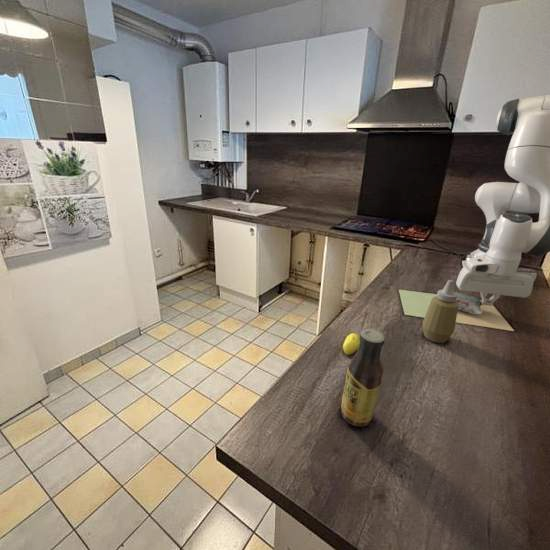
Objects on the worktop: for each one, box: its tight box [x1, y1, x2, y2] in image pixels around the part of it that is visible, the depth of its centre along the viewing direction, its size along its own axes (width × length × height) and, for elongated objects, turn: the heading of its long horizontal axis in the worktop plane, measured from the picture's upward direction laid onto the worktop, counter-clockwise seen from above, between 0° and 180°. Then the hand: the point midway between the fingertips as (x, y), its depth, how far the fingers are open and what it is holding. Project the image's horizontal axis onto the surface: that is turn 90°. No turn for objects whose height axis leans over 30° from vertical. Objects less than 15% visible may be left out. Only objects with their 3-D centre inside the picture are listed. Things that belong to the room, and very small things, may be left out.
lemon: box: [342, 332, 360, 356], centre depth 77 cm, size 4×8×4 cm, turn 146°
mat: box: [398, 289, 515, 332], centre depth 100 cm, size 20×31×1 cm, turn 74°
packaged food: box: [454, 291, 482, 314], centre depth 99 cm, size 9×12×5 cm
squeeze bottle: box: [421, 279, 458, 344], centre depth 80 cm, size 8×8×18 cm
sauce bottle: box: [340, 328, 386, 428], centre depth 54 cm, size 6×6×20 cm
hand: (486, 304), depth 96 cm, fingers closed
